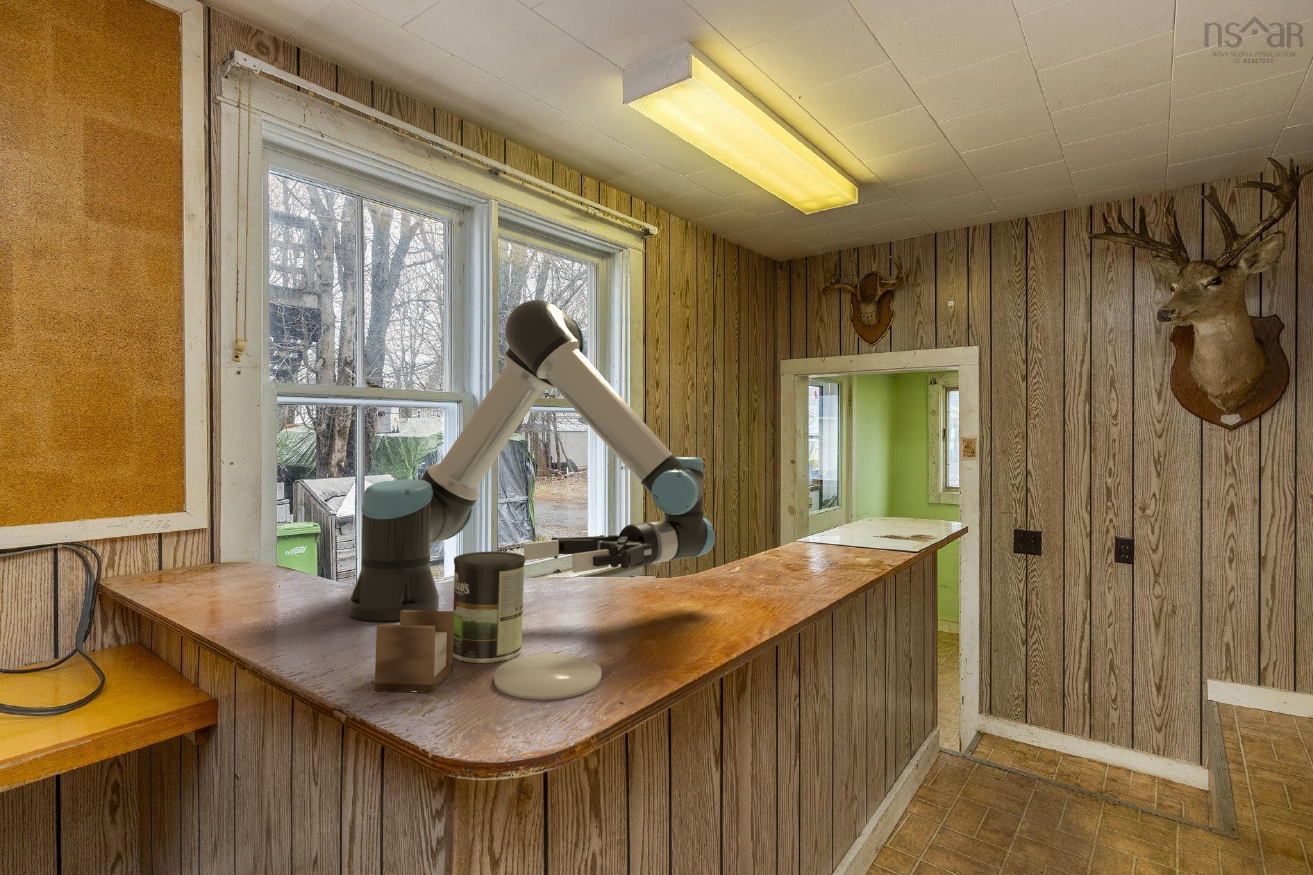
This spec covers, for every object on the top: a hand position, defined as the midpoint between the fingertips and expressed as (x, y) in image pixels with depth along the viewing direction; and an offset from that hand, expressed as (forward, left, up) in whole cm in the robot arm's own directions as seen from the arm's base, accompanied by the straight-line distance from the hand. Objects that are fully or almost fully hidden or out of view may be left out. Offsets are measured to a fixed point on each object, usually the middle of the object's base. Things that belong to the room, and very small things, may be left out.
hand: (548, 557), depth 103 cm
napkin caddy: (-13, -19, -13) cm, 26 cm away
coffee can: (-7, -7, -13) cm, 17 cm away
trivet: (+4, -17, -13) cm, 22 cm away
